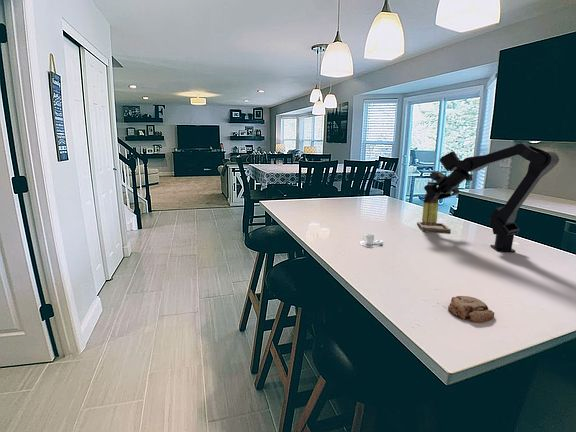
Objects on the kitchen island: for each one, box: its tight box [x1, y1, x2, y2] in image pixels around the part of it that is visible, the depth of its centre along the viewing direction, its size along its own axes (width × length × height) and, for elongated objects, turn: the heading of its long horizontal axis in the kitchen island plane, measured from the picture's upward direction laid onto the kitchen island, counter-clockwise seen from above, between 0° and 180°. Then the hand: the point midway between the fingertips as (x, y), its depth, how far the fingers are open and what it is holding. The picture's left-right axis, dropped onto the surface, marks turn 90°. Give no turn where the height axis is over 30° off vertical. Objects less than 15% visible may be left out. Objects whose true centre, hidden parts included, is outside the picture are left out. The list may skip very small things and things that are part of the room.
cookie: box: [447, 295, 495, 323], centre depth 82 cm, size 10×11×3 cm
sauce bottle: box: [421, 181, 439, 226], centre depth 155 cm, size 6×6×20 cm
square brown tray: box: [416, 221, 451, 234], centre depth 160 cm, size 12×12×2 cm
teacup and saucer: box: [359, 233, 384, 248], centre depth 134 cm, size 9×8×4 cm
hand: (428, 201), depth 156 cm, fingers closed on sauce bottle, 6 cm apart
